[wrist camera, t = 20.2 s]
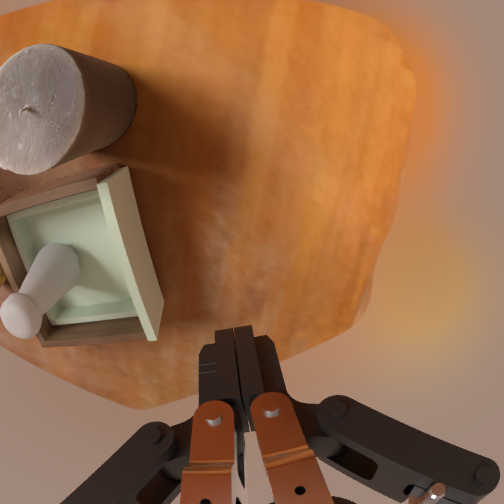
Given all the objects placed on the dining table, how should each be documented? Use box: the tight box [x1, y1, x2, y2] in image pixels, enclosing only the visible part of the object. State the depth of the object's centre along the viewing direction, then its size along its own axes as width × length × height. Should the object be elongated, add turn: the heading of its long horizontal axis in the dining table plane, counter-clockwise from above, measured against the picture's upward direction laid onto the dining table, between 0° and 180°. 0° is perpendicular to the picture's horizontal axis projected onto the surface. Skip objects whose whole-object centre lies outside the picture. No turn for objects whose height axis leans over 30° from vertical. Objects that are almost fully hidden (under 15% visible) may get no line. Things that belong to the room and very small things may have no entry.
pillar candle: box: [0, 44, 137, 175], centre depth 22 cm, size 10×10×15 cm
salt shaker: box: [0, 243, 80, 339], centre depth 27 cm, size 6×6×13 cm
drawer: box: [6, 166, 164, 341], centre depth 31 cm, size 17×15×7 cm
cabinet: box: [0, 163, 147, 347], centre depth 32 cm, size 18×15×7 cm
